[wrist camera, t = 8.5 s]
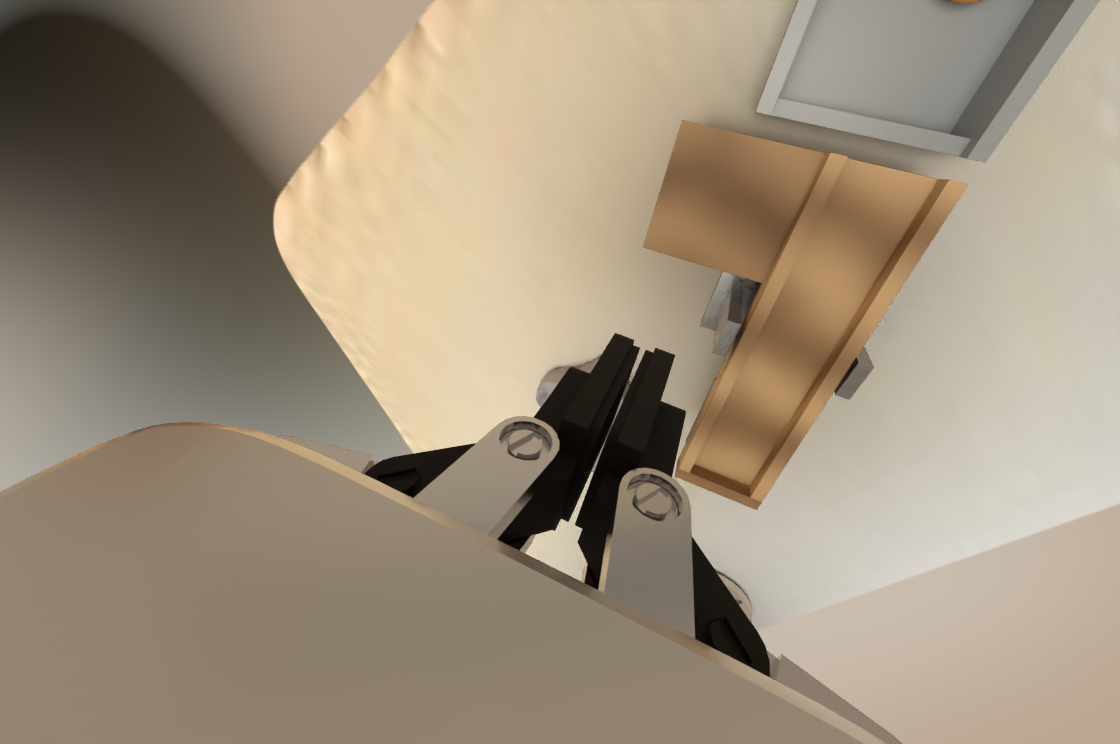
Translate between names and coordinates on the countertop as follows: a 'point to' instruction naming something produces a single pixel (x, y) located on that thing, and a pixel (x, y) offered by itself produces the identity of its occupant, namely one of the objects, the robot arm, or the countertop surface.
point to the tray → (919, 67)
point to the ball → (966, 1)
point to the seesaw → (786, 283)
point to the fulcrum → (732, 310)
